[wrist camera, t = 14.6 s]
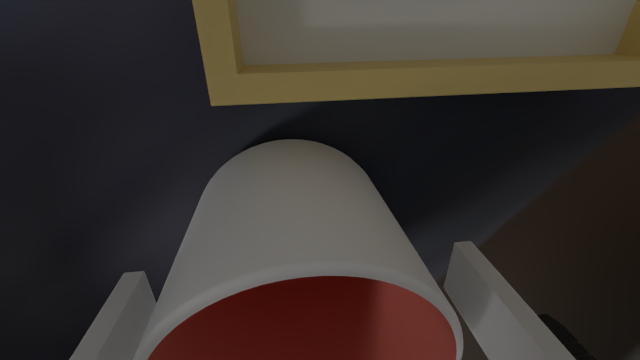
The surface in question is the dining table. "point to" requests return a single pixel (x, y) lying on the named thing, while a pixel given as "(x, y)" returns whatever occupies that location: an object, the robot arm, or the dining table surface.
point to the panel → (413, 48)
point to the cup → (298, 269)
